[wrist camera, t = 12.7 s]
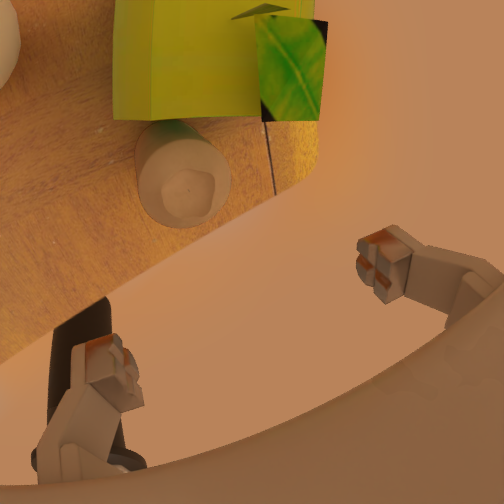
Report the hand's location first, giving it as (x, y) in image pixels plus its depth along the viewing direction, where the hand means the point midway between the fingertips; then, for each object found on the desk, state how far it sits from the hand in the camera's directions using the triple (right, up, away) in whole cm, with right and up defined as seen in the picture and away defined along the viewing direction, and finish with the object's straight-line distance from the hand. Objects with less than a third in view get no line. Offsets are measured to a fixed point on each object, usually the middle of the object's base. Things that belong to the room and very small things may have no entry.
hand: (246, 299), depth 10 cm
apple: (-5, +18, +10) cm, 21 cm away
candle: (-7, +10, +15) cm, 19 cm away
